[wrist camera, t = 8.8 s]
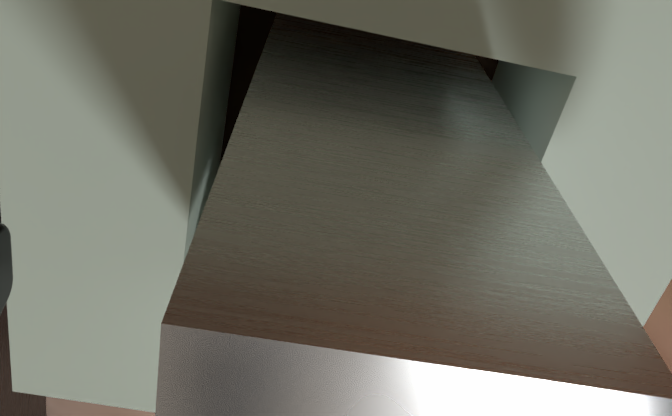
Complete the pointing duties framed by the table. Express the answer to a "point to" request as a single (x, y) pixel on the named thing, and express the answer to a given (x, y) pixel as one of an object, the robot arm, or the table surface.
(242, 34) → the table surface
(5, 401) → the mount
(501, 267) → the pin
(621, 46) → the dock
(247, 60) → the table surface
